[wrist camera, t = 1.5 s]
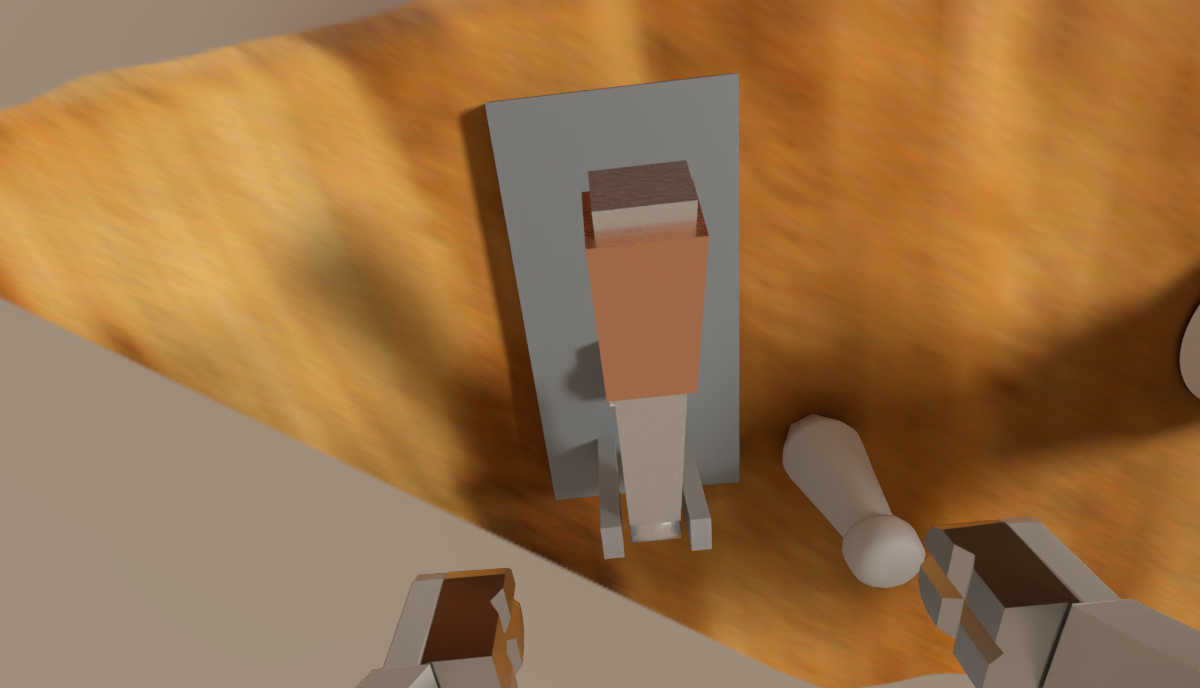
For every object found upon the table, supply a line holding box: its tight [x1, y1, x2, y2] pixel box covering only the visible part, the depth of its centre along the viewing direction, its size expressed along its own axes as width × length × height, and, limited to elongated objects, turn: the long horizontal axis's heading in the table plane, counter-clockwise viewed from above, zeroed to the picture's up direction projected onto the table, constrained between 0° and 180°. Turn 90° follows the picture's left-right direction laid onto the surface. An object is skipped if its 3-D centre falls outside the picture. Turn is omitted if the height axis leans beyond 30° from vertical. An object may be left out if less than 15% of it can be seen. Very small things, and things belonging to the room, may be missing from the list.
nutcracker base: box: [485, 73, 740, 559], centre depth 34 cm, size 28×14×11 cm, turn 6°
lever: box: [581, 160, 709, 543], centre depth 27 cm, size 26×4×4 cm, turn 6°
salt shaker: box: [783, 414, 925, 588], centre depth 38 cm, size 6×6×13 cm
